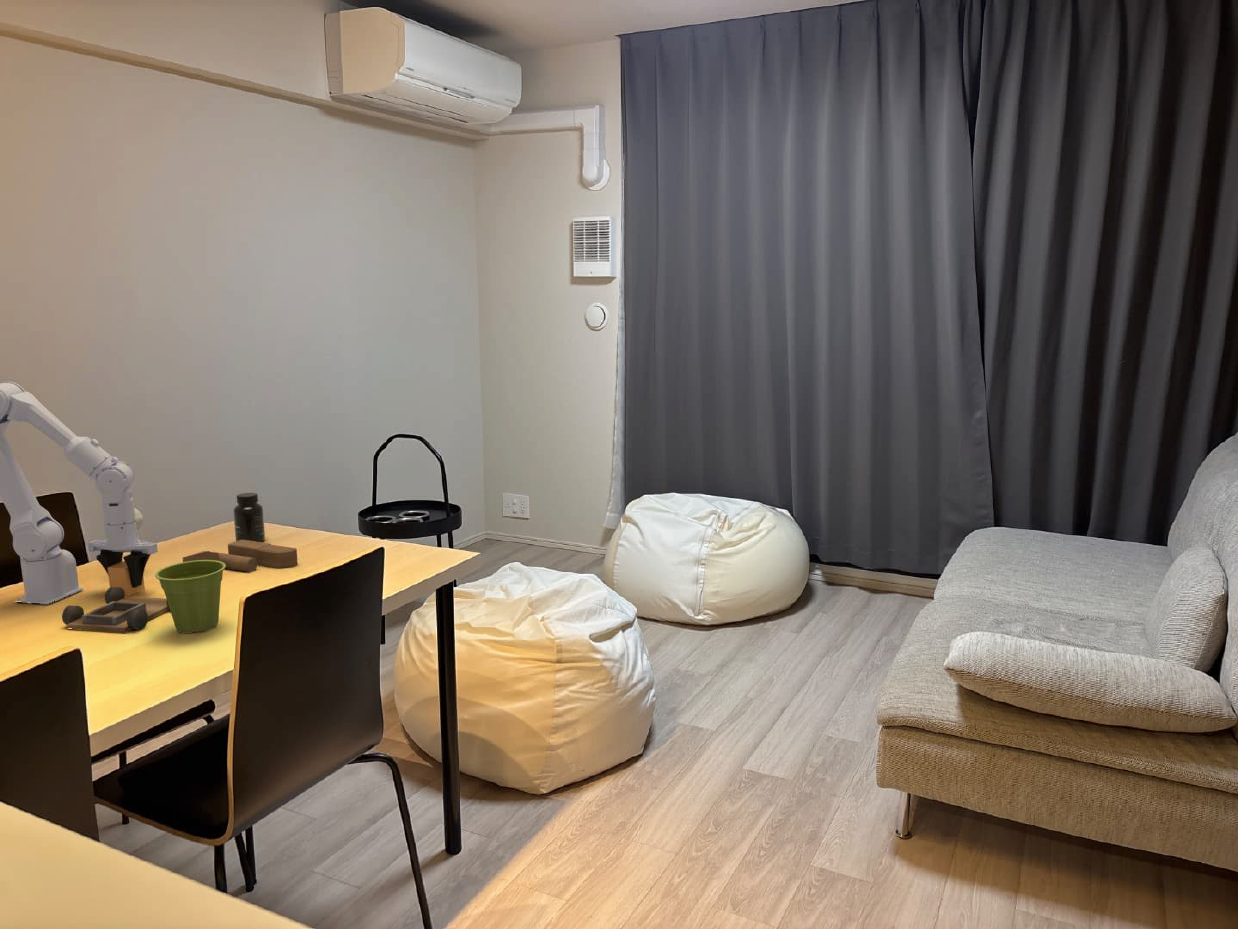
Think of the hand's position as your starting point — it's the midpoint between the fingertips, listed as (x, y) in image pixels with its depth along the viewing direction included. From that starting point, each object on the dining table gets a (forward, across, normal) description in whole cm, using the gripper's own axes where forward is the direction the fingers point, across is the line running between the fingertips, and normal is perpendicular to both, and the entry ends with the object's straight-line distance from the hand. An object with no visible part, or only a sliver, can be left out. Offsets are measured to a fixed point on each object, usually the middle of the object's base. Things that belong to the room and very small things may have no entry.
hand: (127, 585), depth 192 cm
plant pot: (+2, -27, +16) cm, 31 cm away
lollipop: (+2, +8, -12) cm, 15 cm away
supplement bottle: (+2, -3, -40) cm, 40 cm away
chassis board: (+1, -10, +13) cm, 16 cm away
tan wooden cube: (+1, 0, 0) cm, 1 cm away
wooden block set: (+2, -14, -18) cm, 23 cm away
